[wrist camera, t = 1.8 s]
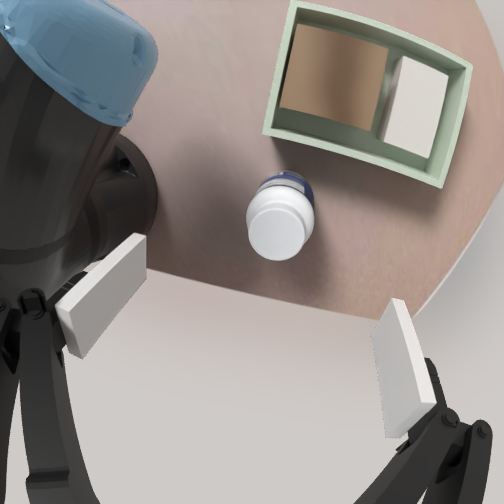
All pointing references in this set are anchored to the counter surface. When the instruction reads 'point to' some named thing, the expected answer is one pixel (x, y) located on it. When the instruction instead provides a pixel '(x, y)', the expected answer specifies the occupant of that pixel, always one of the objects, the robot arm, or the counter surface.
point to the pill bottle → (280, 215)
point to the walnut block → (334, 76)
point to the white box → (412, 106)
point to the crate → (363, 141)
